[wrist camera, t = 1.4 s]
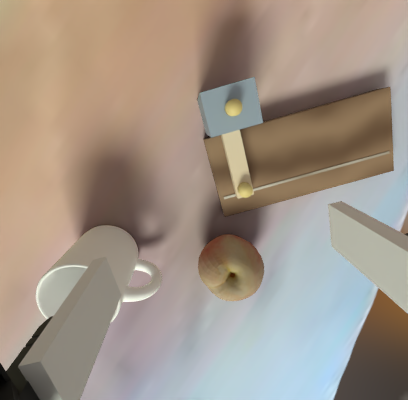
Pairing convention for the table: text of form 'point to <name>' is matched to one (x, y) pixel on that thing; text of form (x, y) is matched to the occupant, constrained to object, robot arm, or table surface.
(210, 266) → the fruit
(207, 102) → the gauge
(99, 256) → the mug
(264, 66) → the table surface
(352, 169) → the board
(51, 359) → the robot arm
